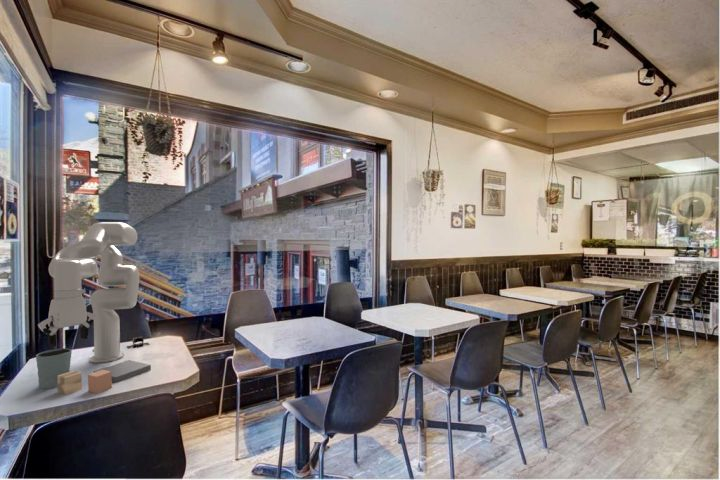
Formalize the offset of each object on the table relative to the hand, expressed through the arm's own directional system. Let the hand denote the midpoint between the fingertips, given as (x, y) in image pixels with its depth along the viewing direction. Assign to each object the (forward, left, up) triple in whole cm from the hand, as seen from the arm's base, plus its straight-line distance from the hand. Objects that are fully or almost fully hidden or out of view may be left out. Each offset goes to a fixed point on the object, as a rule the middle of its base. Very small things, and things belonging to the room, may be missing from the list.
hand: (68, 342), depth 127 cm
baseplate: (+1, +18, -18) cm, 25 cm away
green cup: (-12, +1, -18) cm, 22 cm away
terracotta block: (+9, +5, -18) cm, 20 cm away
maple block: (0, 0, -18) cm, 18 cm away
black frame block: (-29, +44, -18) cm, 56 cm away
